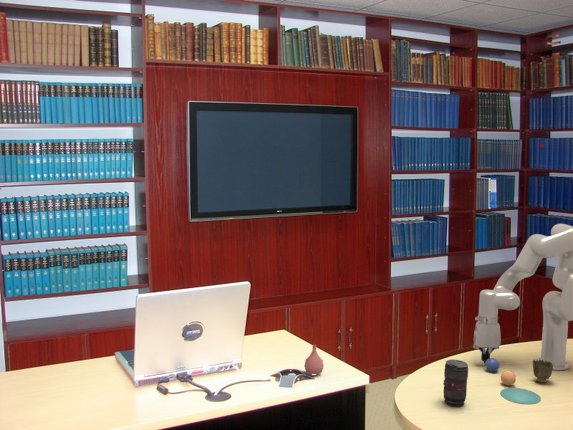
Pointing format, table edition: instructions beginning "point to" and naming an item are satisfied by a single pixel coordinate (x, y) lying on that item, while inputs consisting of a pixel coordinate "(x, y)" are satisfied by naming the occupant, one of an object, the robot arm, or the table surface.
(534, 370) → the cup
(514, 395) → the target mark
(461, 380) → the camera lens
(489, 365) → the blue ball
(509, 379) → the object ball
